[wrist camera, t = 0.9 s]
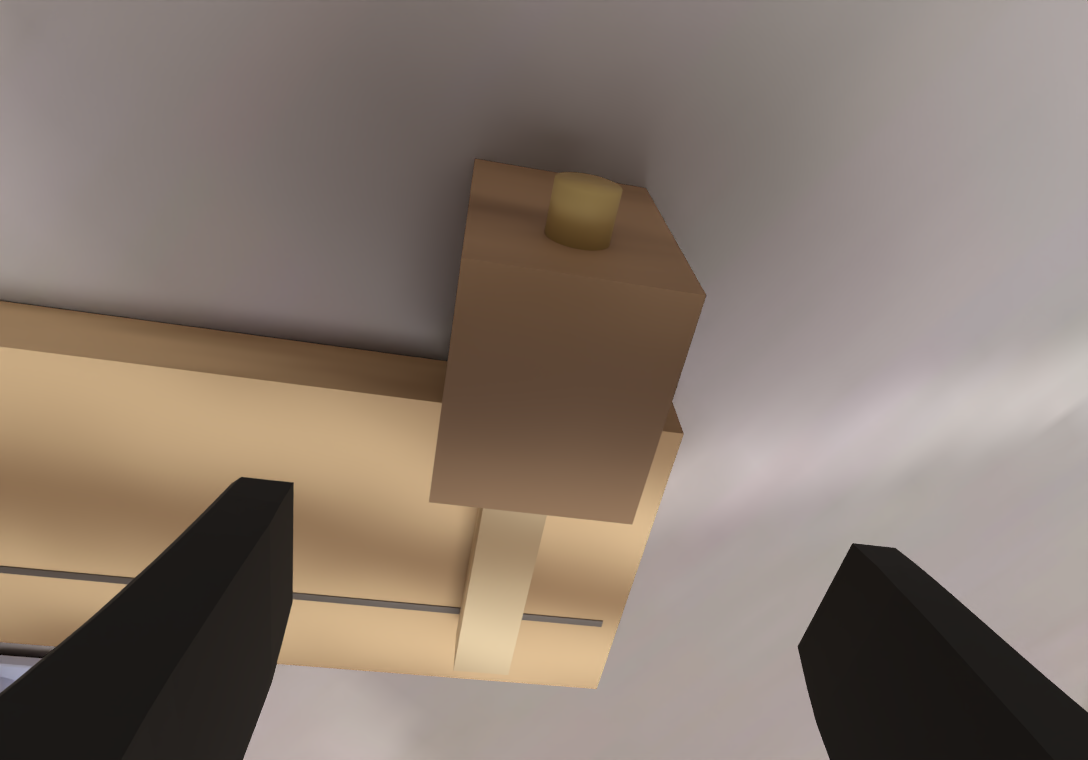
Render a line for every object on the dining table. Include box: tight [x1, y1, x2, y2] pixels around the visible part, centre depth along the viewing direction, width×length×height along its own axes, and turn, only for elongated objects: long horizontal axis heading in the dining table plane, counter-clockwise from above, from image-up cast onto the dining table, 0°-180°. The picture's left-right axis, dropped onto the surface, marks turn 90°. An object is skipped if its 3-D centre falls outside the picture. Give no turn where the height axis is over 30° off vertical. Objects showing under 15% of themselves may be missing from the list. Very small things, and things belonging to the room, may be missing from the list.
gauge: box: [429, 159, 706, 675], centre depth 17 cm, size 14×4×6 cm, turn 170°
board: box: [0, 301, 684, 689], centre depth 20 cm, size 10×24×2 cm, turn 80°
